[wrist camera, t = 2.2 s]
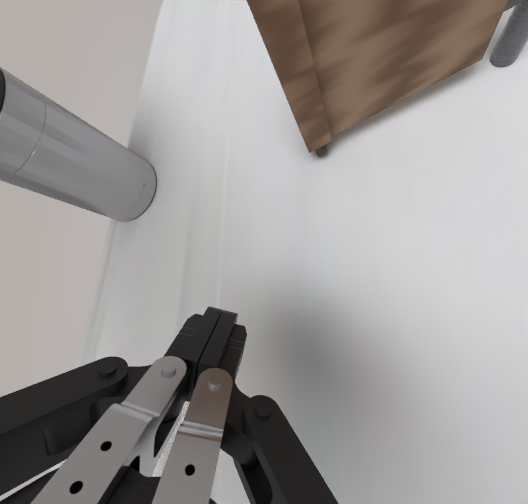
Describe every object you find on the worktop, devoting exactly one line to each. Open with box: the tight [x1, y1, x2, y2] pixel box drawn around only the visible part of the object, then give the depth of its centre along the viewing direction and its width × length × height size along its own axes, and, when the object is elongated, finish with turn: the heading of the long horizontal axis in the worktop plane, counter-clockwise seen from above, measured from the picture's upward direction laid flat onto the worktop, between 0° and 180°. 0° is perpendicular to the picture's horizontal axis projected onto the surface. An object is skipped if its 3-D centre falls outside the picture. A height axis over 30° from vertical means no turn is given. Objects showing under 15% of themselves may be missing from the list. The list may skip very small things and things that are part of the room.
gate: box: [247, 0, 522, 157], centre depth 19 cm, size 18×3×22 cm, turn 109°
